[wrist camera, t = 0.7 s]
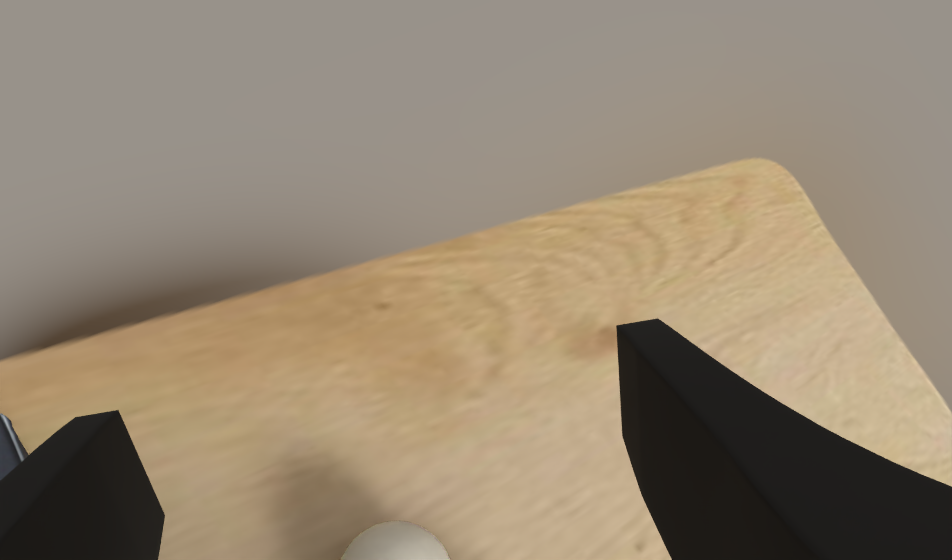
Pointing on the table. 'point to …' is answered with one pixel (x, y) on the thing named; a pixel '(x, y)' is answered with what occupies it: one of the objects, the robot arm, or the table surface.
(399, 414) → the table surface
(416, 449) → the table surface
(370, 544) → the off-white sphere
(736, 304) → the table surface
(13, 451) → the small box
